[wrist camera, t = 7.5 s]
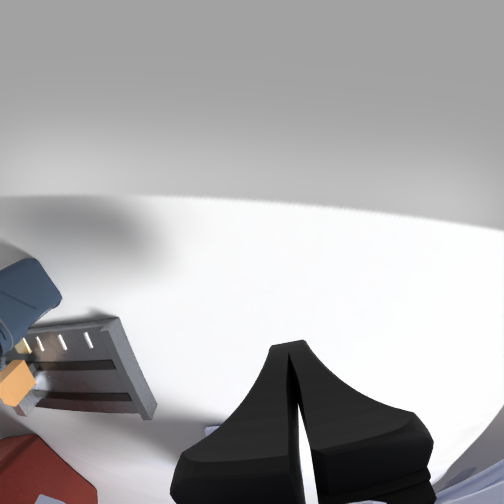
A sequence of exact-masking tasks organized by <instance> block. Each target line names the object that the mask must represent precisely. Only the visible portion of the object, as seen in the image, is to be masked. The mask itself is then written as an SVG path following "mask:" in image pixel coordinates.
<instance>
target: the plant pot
mask: <svg viewBox="0 0 504 504" xmlns="http://www.w3.org/2000/svg"><path fill="white" fill-rule="evenodd" d="M39 495H45V496H48V497H50V498H53V499H56V500H59V501H62V502H64V503H65V504H98V499H97V490H96V489H95V488H94V487H93V486H92V485H91V484H89V483H88V482H87V481H86V480H85V479H83V478H82V477H81V476H80V475H79V474H77V473H76V472H75V471H74V470H73V469H72V468H71V467H69V466H68V465H67V464H66V463H65V462H64V461H63V460H62V459H61V458H60V457H58V456H57V455H56V454H55V453H54V452H53V451H52V450H51V449H50V448H49V447H48V446H47V445H46V444H45V443H44V442H43V441H42V440H41V439H40V438H39V437H38V436H36V435H34V434H30V435H23V436H17V437H9V438H4V439H2V440H0V504H35V502H36V500H37V499H38V497H39Z"/></svg>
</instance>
